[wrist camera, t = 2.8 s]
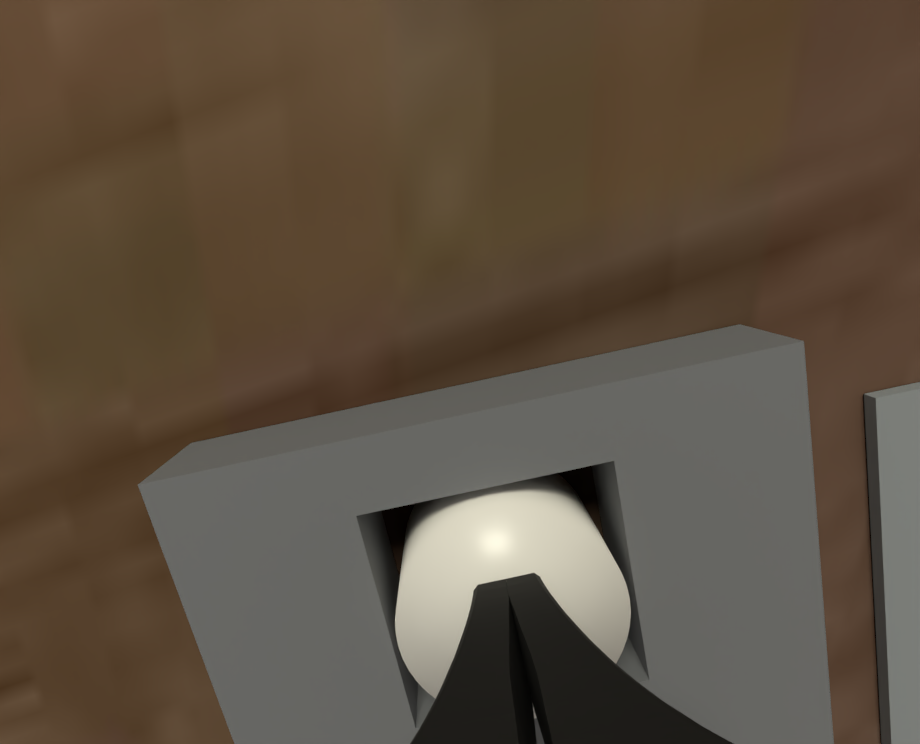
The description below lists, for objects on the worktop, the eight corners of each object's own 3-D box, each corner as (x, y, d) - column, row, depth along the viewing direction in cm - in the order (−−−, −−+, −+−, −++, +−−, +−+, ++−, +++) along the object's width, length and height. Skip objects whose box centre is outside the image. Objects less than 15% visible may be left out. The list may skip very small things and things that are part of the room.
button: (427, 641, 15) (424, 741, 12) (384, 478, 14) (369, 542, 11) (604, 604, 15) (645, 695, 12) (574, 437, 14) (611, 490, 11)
